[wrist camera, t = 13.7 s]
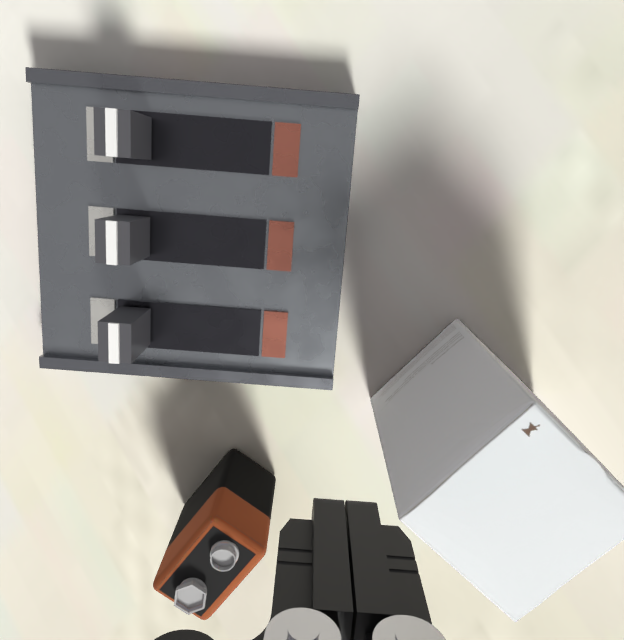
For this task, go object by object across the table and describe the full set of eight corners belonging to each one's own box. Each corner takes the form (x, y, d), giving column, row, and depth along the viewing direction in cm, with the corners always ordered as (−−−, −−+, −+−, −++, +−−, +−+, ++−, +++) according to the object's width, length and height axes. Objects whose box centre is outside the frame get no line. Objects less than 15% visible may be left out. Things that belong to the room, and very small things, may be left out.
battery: (181, 506, 44) (143, 600, 34) (233, 443, 42) (208, 523, 33) (227, 536, 44) (202, 637, 35) (279, 475, 43) (268, 563, 33)
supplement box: (365, 398, 41) (391, 519, 27) (456, 314, 40) (536, 395, 25) (447, 476, 43) (514, 630, 28) (538, 398, 41) (658, 520, 27)
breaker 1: (151, 117, 34) (129, 109, 30) (151, 159, 35) (129, 157, 31) (118, 114, 34) (91, 106, 30) (119, 157, 35) (92, 155, 31)
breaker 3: (150, 308, 37) (130, 324, 33) (150, 344, 38) (130, 364, 34) (120, 306, 37) (96, 322, 33) (120, 342, 38) (97, 362, 34)
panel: (356, 100, 36) (359, 94, 34) (331, 376, 41) (332, 390, 38) (45, 74, 36) (25, 67, 33) (56, 355, 41) (39, 367, 38)
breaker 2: (150, 216, 36) (128, 222, 32) (149, 255, 36) (128, 266, 32) (118, 214, 36) (93, 219, 32) (119, 253, 36) (94, 263, 32)
